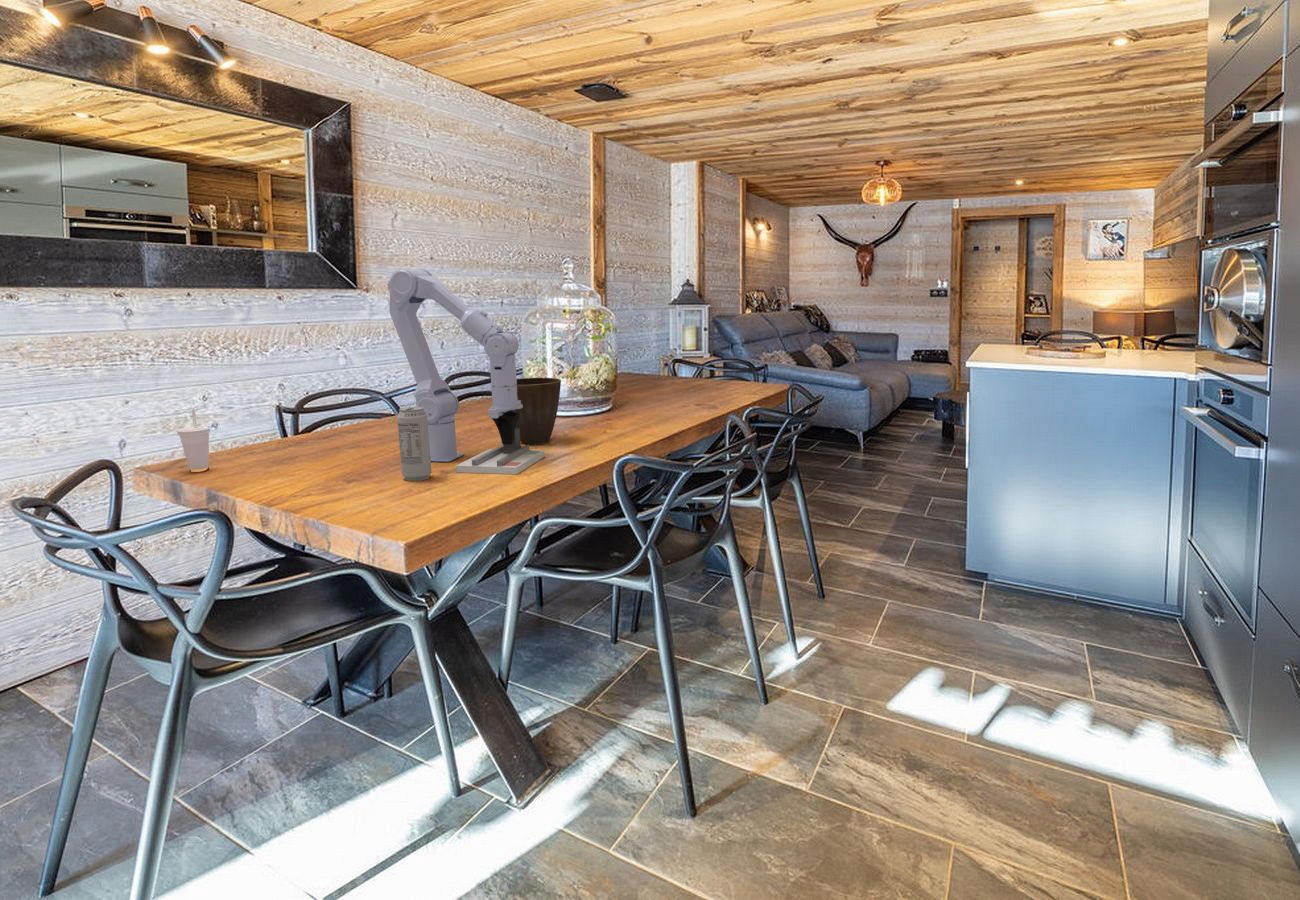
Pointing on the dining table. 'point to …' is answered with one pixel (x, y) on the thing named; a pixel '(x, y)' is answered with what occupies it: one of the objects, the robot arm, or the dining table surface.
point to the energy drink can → (414, 443)
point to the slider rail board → (501, 461)
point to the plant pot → (537, 408)
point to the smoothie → (195, 445)
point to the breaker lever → (513, 443)
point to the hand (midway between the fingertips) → (507, 444)
